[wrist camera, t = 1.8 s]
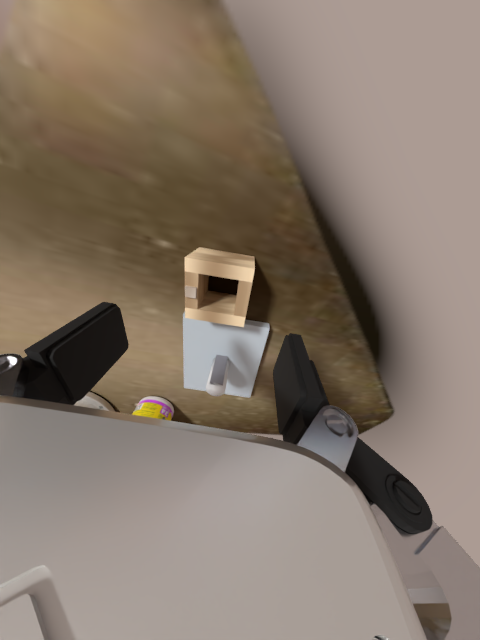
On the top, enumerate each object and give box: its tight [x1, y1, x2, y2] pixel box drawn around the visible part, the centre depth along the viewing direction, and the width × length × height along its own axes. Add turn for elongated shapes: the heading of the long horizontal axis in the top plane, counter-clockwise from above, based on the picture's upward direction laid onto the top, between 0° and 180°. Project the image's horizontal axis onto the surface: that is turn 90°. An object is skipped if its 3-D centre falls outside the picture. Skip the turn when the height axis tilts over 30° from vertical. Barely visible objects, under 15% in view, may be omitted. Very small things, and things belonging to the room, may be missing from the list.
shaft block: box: [183, 312, 270, 398], centre depth 25 cm, size 14×11×6 cm
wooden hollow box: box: [185, 247, 255, 327], centre depth 19 cm, size 6×6×5 cm
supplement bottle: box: [132, 396, 174, 421], centre depth 29 cm, size 7×7×13 cm
